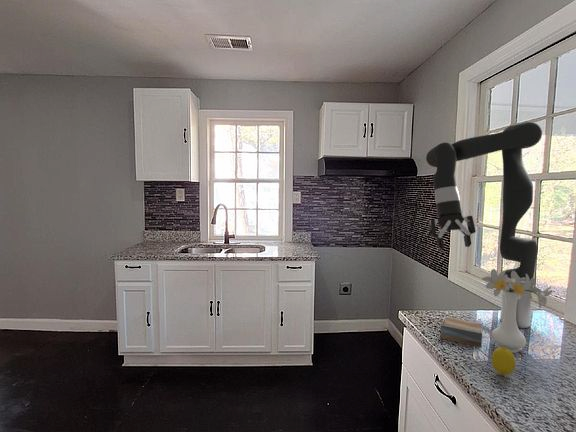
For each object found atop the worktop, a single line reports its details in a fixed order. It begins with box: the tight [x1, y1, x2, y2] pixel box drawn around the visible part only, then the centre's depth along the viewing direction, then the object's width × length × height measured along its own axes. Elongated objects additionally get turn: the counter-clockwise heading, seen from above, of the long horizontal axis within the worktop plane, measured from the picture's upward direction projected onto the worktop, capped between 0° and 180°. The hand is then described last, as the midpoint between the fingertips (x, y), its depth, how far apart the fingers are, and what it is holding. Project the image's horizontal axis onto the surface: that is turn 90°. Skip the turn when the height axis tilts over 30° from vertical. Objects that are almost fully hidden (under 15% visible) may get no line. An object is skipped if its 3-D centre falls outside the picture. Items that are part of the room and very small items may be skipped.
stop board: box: [440, 316, 483, 348], centre depth 118 cm, size 18×12×4 cm, turn 150°
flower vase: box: [482, 268, 553, 354], centre depth 105 cm, size 13×18×25 cm
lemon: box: [490, 347, 516, 377], centre depth 91 cm, size 6×6×8 cm
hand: (454, 248), depth 112 cm, fingers open, 8 cm apart
